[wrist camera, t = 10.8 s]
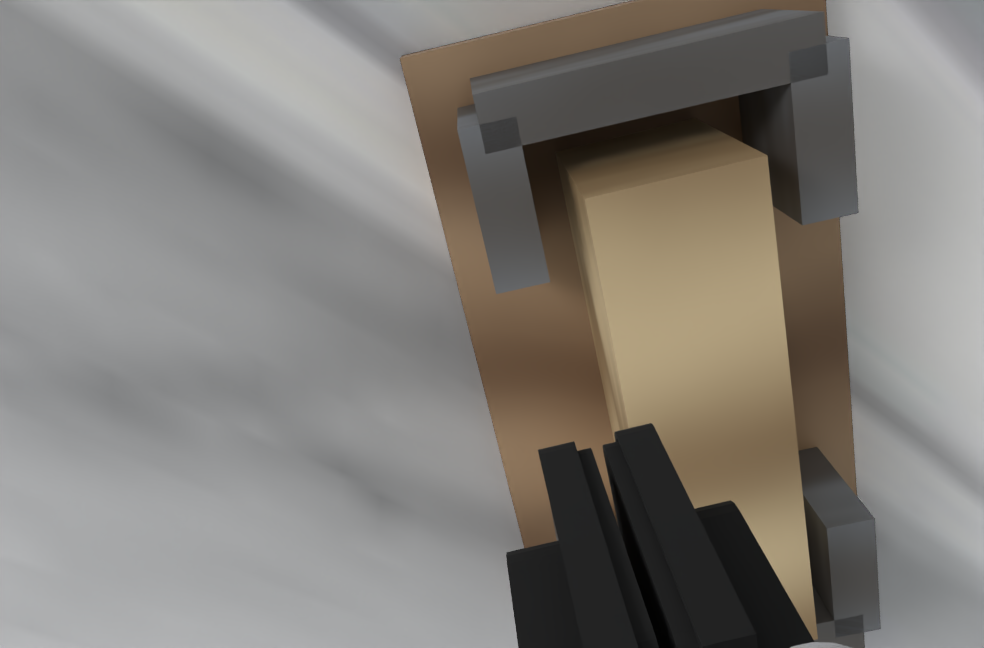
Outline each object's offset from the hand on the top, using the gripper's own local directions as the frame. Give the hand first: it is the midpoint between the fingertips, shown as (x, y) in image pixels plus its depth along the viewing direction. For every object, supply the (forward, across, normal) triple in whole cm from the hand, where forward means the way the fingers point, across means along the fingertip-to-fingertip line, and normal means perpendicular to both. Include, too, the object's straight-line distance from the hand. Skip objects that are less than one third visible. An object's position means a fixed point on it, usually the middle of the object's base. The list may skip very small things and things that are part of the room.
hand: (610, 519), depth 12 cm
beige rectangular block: (+10, -3, +3) cm, 11 cm away
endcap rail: (+11, -3, +3) cm, 12 cm away
